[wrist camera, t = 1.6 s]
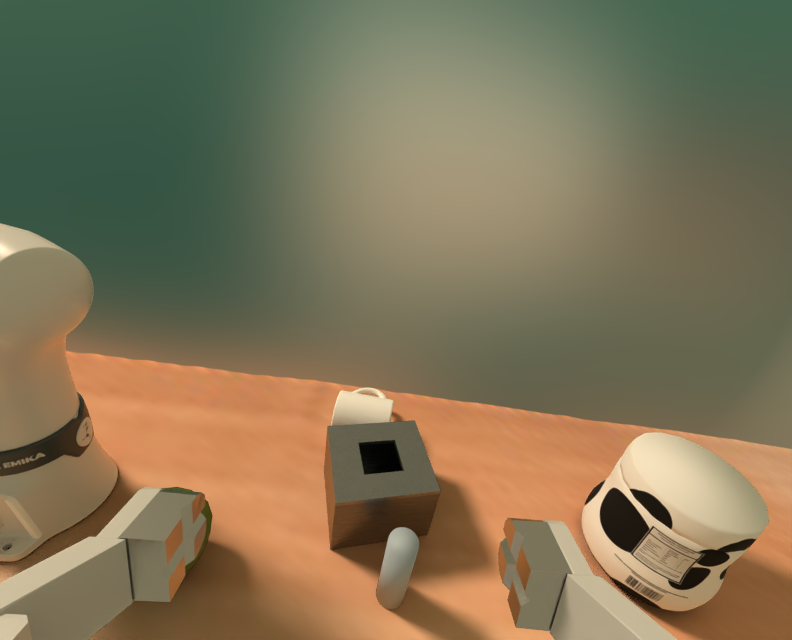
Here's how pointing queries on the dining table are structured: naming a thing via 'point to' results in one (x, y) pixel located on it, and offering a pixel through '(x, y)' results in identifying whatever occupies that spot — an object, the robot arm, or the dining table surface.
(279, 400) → the dining table surface
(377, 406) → the mug
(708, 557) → the milk container
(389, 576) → the grey rounded cylinder
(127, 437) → the dining table surface
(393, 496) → the grey square box
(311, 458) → the dining table surface
